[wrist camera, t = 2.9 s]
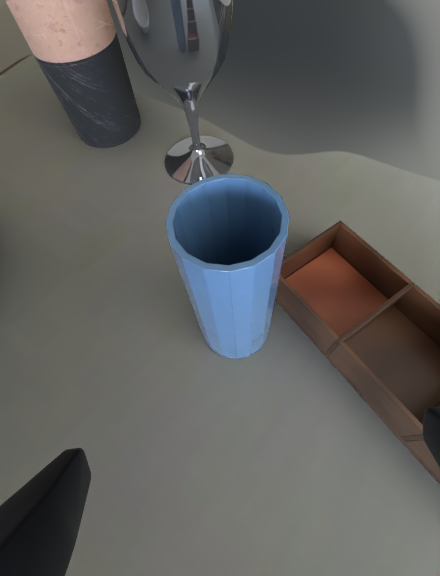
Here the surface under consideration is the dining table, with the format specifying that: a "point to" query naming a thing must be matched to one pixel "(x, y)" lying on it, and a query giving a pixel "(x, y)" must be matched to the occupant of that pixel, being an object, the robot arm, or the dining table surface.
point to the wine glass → (182, 69)
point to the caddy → (369, 328)
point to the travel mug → (82, 65)
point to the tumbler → (230, 257)
